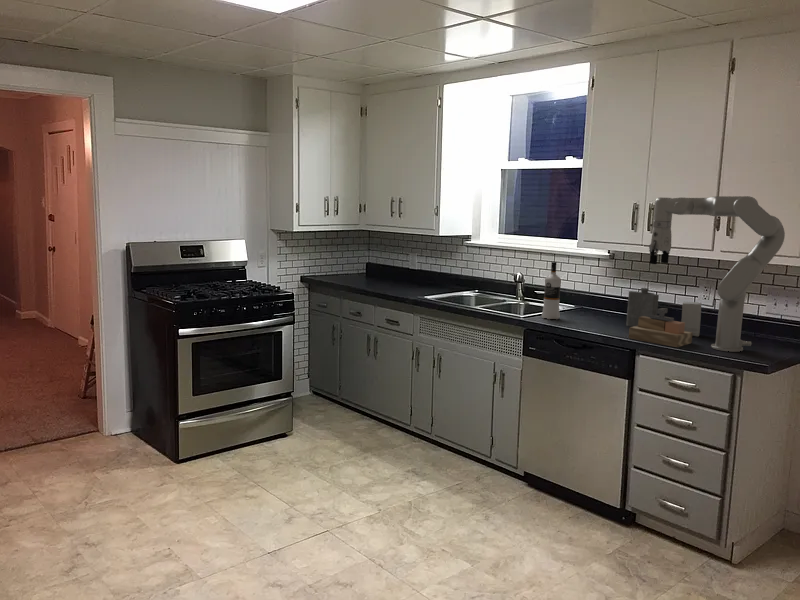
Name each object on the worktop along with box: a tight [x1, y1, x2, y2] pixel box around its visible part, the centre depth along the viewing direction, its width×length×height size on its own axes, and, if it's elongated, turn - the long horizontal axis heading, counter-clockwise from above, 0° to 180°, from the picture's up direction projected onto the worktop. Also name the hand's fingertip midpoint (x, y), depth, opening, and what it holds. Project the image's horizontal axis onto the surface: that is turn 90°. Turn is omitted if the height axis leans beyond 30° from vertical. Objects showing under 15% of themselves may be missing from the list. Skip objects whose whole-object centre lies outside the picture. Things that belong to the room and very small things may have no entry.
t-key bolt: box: [650, 307, 675, 321], centre depth 308 cm, size 6×10×5 cm, turn 42°
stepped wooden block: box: [628, 316, 693, 348], centre depth 309 cm, size 14×23×10 cm, turn 42°
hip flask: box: [625, 287, 660, 327], centre depth 339 cm, size 16×4×20 cm, turn 39°
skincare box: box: [681, 301, 702, 337], centre depth 324 cm, size 8×7×16 cm
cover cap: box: [665, 320, 685, 334], centre depth 304 cm, size 6×6×4 cm
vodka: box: [541, 261, 562, 320], centre depth 358 cm, size 9×9×30 cm
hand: (658, 263), depth 308 cm, fingers open, 9 cm apart
